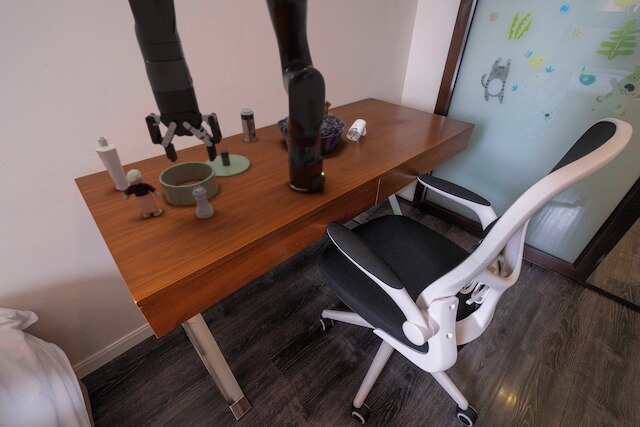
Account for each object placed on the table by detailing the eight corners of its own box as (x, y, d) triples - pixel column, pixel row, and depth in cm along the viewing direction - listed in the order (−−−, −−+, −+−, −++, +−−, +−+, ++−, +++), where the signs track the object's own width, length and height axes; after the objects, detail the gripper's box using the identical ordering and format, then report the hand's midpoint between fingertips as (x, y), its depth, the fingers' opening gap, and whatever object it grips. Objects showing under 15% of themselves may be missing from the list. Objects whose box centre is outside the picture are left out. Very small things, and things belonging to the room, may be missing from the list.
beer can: (253, 143, 110) (250, 112, 102) (242, 142, 110) (237, 111, 103) (258, 139, 113) (255, 108, 106) (247, 138, 114) (243, 107, 107)
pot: (228, 190, 82) (224, 171, 79) (184, 213, 73) (177, 193, 69) (199, 175, 89) (195, 157, 85) (156, 194, 80) (148, 174, 76)
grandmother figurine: (165, 206, 75) (149, 163, 68) (167, 214, 73) (150, 170, 65) (133, 214, 72) (112, 170, 65) (133, 222, 70) (111, 177, 62)
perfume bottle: (128, 181, 85) (107, 133, 76) (135, 186, 83) (114, 137, 74) (112, 187, 82) (88, 138, 73) (118, 192, 80) (94, 142, 71)
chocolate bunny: (320, 118, 136) (320, 96, 130) (335, 120, 134) (337, 98, 128) (316, 122, 132) (316, 99, 126) (332, 124, 130) (333, 101, 124)
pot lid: (259, 166, 95) (257, 149, 92) (222, 183, 85) (219, 166, 82) (230, 153, 102) (228, 138, 99) (193, 168, 92) (189, 151, 89)
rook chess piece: (216, 209, 75) (210, 183, 70) (211, 220, 71) (205, 193, 66) (199, 209, 75) (192, 183, 70) (194, 220, 71) (185, 193, 66)
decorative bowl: (268, 156, 105) (264, 131, 99) (294, 126, 125) (293, 103, 119) (333, 167, 100) (334, 141, 93) (350, 134, 119) (352, 111, 113)
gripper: (124, 89, 51) (155, 168, 61) (204, 89, 52) (222, 167, 62) (142, 80, 57) (168, 153, 67) (214, 80, 58) (228, 152, 68)
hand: (194, 160), depth 64 cm, fingers open, 8 cm apart
